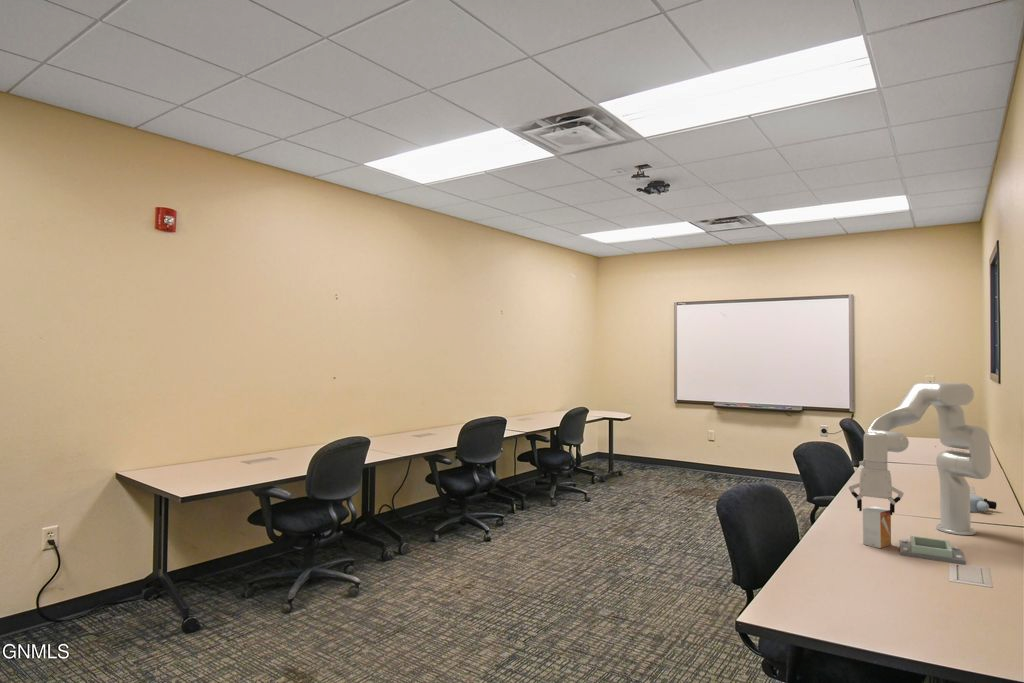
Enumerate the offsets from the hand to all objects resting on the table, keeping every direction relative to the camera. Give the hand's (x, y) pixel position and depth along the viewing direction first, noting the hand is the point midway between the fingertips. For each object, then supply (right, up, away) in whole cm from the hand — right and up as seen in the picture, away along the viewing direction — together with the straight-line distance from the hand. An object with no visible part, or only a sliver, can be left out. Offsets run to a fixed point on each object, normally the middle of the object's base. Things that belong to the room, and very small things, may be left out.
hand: (875, 512), depth 217 cm
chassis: (+13, -12, -10) cm, 20 cm away
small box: (+1, -12, 0) cm, 12 cm away
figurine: (+73, -14, +50) cm, 90 cm away
